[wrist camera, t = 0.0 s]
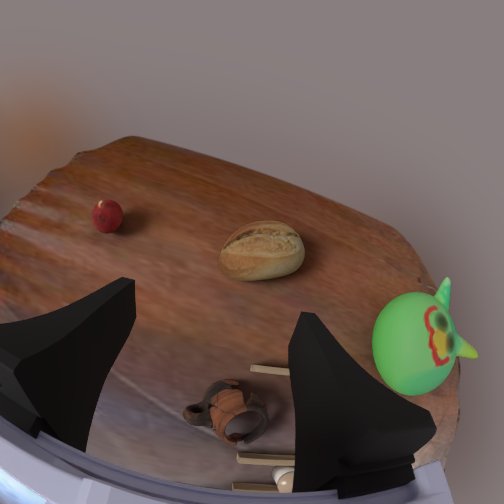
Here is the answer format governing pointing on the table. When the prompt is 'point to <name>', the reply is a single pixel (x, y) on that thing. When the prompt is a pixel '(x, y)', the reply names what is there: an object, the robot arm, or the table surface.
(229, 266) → the bread roll
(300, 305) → the table surface
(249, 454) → the bracket
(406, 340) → the toy bird
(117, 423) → the table surface
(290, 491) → the cream jar
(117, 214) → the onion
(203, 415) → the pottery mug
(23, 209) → the table surface
